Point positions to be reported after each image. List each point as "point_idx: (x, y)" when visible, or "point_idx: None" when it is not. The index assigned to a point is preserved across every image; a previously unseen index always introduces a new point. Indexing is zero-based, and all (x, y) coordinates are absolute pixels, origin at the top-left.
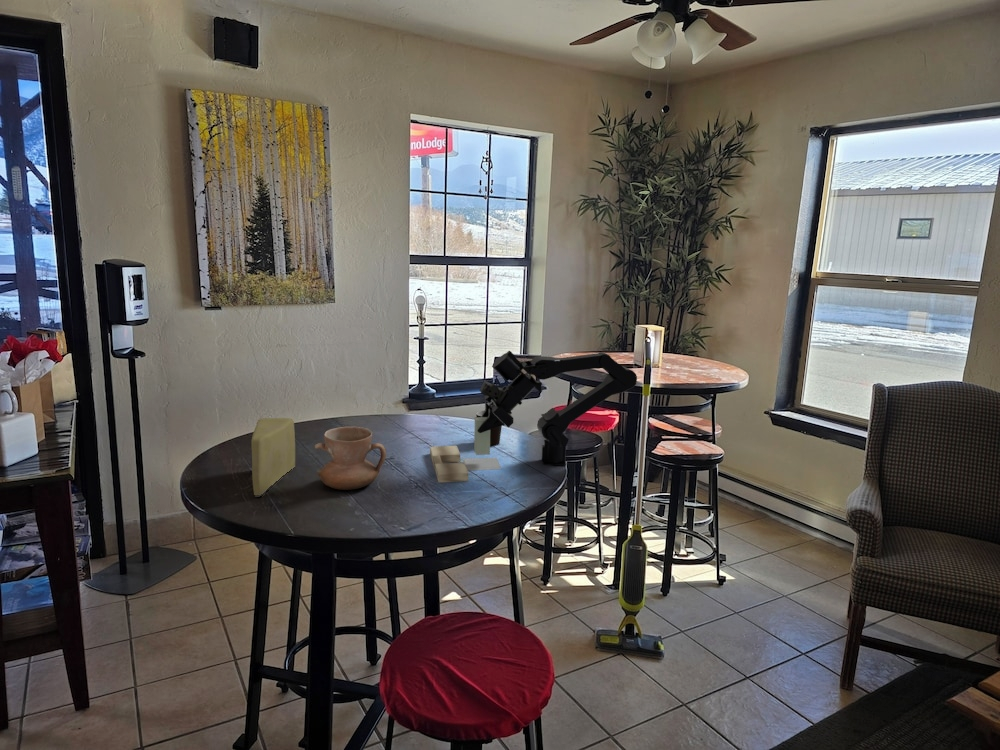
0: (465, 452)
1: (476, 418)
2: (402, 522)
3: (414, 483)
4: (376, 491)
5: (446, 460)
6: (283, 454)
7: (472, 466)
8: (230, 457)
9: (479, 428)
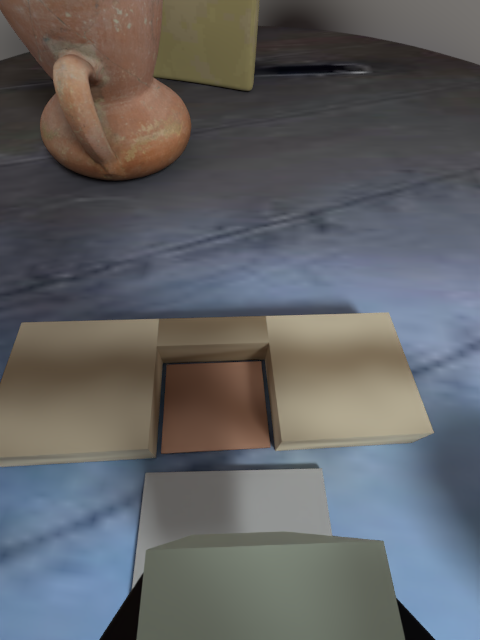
0: (440, 494)
1: (309, 569)
2: None
3: (75, 273)
4: (52, 194)
5: (270, 381)
6: (179, 18)
7: (198, 511)
8: (310, 43)
9: (129, 593)
